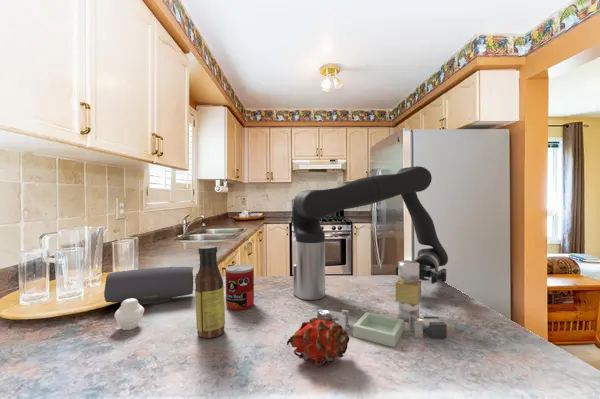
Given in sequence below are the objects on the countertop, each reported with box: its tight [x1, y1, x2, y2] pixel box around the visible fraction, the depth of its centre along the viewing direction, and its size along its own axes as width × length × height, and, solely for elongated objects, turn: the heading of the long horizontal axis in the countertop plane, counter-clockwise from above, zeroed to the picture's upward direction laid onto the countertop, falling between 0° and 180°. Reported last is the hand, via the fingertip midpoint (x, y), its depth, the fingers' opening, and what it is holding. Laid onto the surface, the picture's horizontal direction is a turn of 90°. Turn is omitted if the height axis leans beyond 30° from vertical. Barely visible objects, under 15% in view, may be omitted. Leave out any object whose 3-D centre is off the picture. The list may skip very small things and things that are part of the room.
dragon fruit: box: [286, 317, 351, 367], centre depth 55 cm, size 8×8×12 cm
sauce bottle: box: [194, 245, 226, 339], centre depth 66 cm, size 6×6×20 cm
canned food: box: [225, 264, 255, 312], centre depth 83 cm, size 8×8×11 cm
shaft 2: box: [408, 315, 448, 340], centre depth 65 cm, size 7×4×3 cm, turn 88°
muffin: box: [113, 298, 145, 331], centre depth 69 cm, size 6×6×7 cm
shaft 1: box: [316, 307, 350, 332], centre depth 70 cm, size 7×4×3 cm, turn 68°
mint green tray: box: [352, 311, 405, 348], centre depth 66 cm, size 9×9×2 cm
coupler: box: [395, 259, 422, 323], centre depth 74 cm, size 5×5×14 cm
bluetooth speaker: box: [103, 266, 194, 305], centre depth 87 cm, size 23×9×10 cm, turn 108°
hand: (416, 278), depth 83 cm, fingers open, 8 cm apart
